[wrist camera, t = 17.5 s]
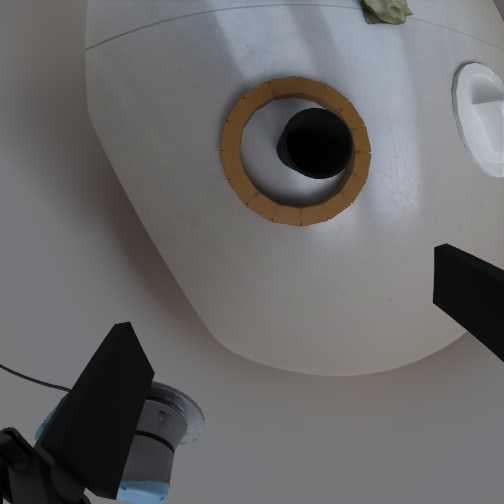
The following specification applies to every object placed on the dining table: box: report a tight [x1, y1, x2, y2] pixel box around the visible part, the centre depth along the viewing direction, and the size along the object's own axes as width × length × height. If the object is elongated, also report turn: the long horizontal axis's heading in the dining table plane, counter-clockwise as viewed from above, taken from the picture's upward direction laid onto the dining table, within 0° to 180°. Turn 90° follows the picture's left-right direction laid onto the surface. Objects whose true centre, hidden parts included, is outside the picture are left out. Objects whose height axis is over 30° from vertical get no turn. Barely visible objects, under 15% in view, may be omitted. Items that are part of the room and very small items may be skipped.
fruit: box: [362, 0, 412, 25], centre depth 28 cm, size 9×9×8 cm
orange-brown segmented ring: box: [220, 76, 371, 226], centre depth 37 cm, size 21×21×3 cm
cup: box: [277, 108, 353, 179], centre depth 33 cm, size 8×8×12 cm
